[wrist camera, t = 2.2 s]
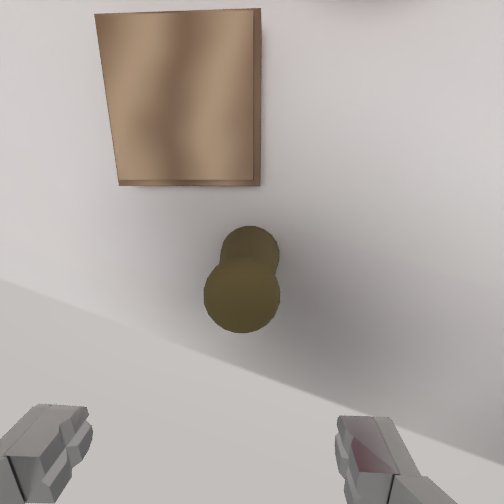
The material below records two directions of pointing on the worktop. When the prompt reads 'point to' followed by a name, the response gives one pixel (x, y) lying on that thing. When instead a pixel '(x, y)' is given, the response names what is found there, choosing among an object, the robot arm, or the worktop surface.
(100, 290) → the worktop surface
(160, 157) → the walnut stand
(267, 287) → the cork
